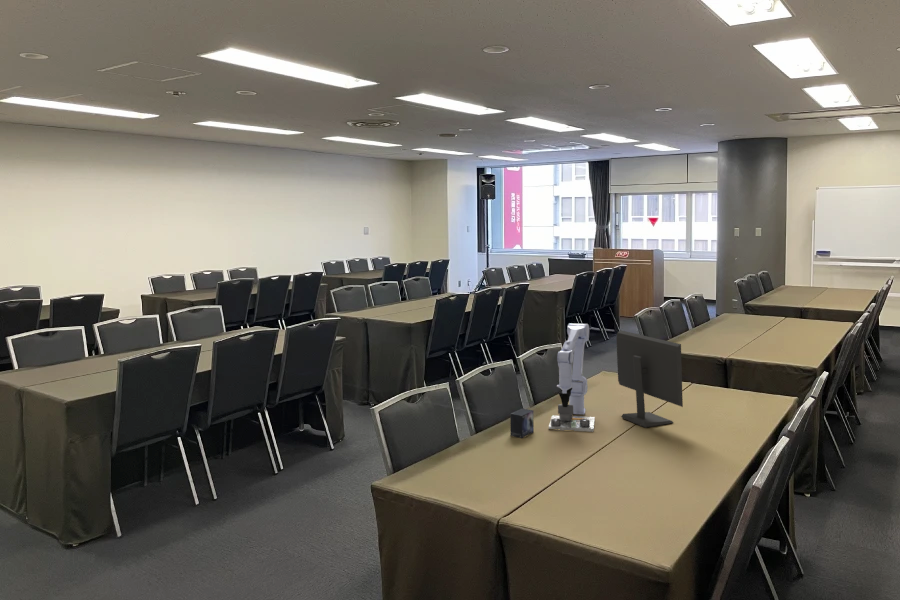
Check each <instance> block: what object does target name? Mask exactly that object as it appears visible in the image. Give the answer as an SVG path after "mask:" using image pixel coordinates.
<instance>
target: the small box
mask: <svg viewBox="0 0 900 600" xmlns="http://www.w3.org/2000/svg"><path fill="white" fill-rule="evenodd" d="M509 415H510V416H509V417H510V422H509V423H510V424H509V425H510V431H509V432H510V434H509V435H510V437H514V438H519V439H523V438H525V437H527V436H530V435H531V434H533V433H534V410H532V409H528V408H523V407H521V408H519V409H518V410H515V411H513V412H511V413H509Z"/></svg>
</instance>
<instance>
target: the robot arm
mask: <svg viewBox="0 0 900 600" xmlns="http://www.w3.org/2000/svg"><path fill="white" fill-rule="evenodd" d="M566 332H567V335H568V338H567V340H565V341H564V343H563V345H562V347H561V350H559V351H558V352H557V354H556V361H557V366H558V375H559V376H558V380H559V382H558V383H559V384H557V385H556V387H557V388H559V389H560V391H558V395H559V397H560V401H561V404H562V406H563V407H567V406H568V405H573V414H572V415H585V414H586V408H585V395H586V394H587V393H588V387H589V386H588V380H587V378H586V377H585V376H584V375H583V369H584V368H583V367H584V355H585V354H584V352H585V345H586V342H588V341H589V338H590V325H589V324H588V323H572V322H571V323H570V322H569V323H568V324H567V329H566Z"/></svg>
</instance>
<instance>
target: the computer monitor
mask: <svg viewBox="0 0 900 600" xmlns="http://www.w3.org/2000/svg"><path fill="white" fill-rule="evenodd" d="M616 357H617V358H616V363H617V365H616V366H617V381H618V385H619V386H622V387H625V388H627V389H631V390H633V391H635V399H636V412H629V413H623V414H622V415H621V416H620V417H621V418H622V419H624V420H626V421H629V422H631V423H633V424H636V425H637V426H639V427H643V428H644V429H645V428H652V427H658V426H664V425H665V426H666V425H670V423H671V424H674V421H673V420H672V419H668V418H665V417H663V416H661V415H658V414H656V413H652V412H650V411H646V407H645V406H646V405H645V395H648V396H650V397H654V398H656V399H659V400H662V401H665V402H668V403H671V404H674V405H676V406H679V407H681V408H683V406H684V405H683V403H684V402H683V374H682V373H683V368H682V363H683V362H682V344H681V343H678V342H674V341H669V340H664V339H660V338H656V337H651V336H647V335H642V334H638V333H633V332H629V331H625V330H619V331H618V332H617V333H616Z"/></svg>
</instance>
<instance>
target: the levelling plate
mask: <svg viewBox="0 0 900 600" xmlns="http://www.w3.org/2000/svg"><path fill="white" fill-rule="evenodd" d="M572 418H584V419H581V420H572V421H561V420H560V419H559V415H556V414H555V415H552V416H551V417H550V422H549V424H548V430H549V429H560V430H559V431H564V430H574V431H573V432H591V433H593V432H595V431H594V430H595V429H594V428H595V418H596V417H595V416H581V415H575V416H574V415H572Z"/></svg>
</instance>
